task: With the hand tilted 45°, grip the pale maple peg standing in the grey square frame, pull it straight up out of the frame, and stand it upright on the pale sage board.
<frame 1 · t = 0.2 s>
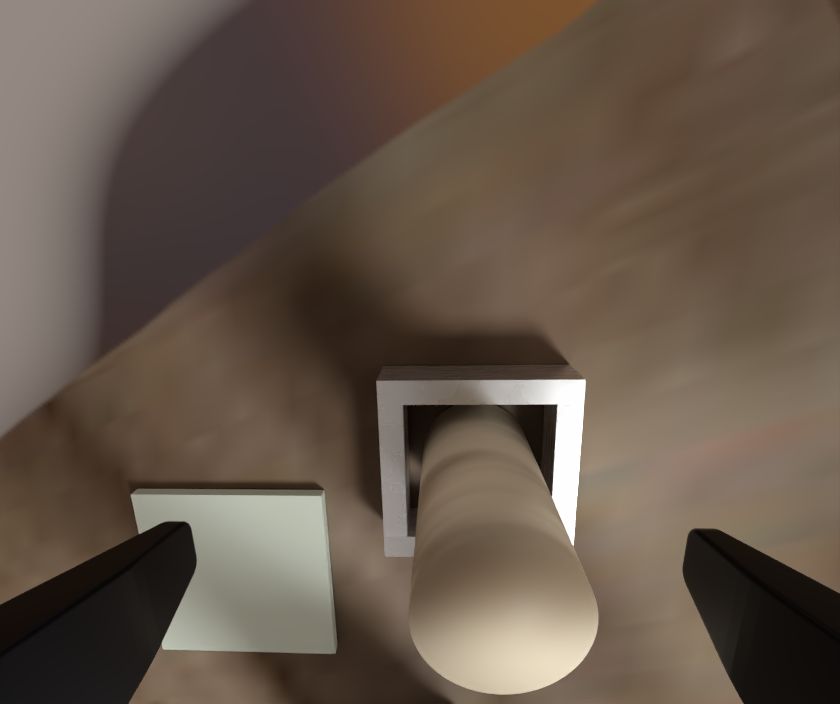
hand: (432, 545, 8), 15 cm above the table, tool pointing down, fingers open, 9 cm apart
grey square frame: (474, 450, 23), on the table
sage board: (241, 570, 26), on the table
maple peg: (484, 510, 18), in the grey square frame
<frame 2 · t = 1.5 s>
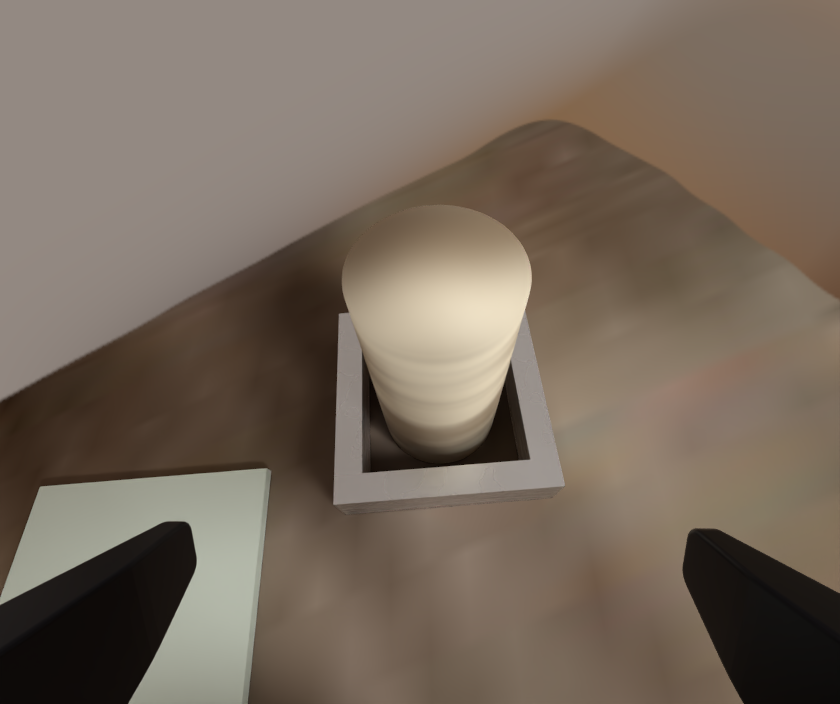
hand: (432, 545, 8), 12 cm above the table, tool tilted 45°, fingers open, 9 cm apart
grey square frame: (439, 409, 22), on the table
sage board: (131, 610, 19), on the table
maple peg: (437, 359, 18), in the grey square frame
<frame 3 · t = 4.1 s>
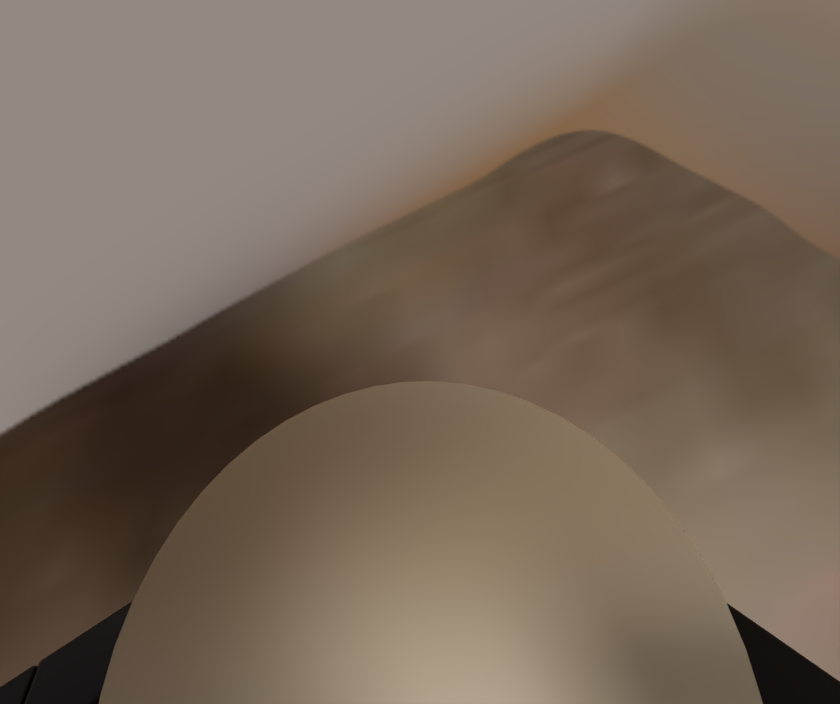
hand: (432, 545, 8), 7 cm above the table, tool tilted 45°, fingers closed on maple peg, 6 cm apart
maple peg: (433, 631, 8), in the grey square frame, touching gripper
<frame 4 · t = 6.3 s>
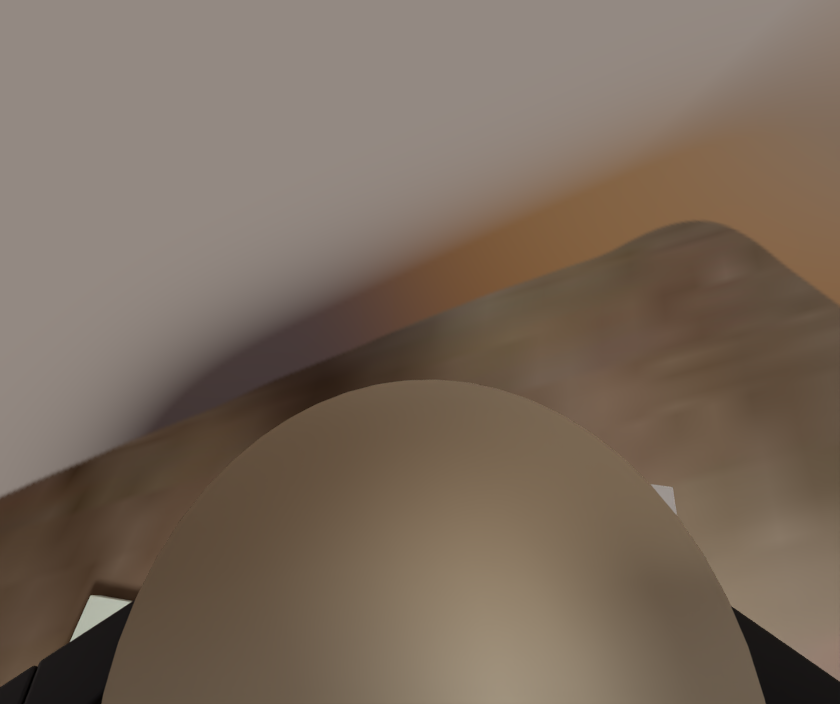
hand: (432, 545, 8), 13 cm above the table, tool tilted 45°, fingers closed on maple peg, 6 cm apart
grey square frame: (543, 599, 18), on the table
maple peg: (435, 630, 8), point 11 cm above the table, touching gripper
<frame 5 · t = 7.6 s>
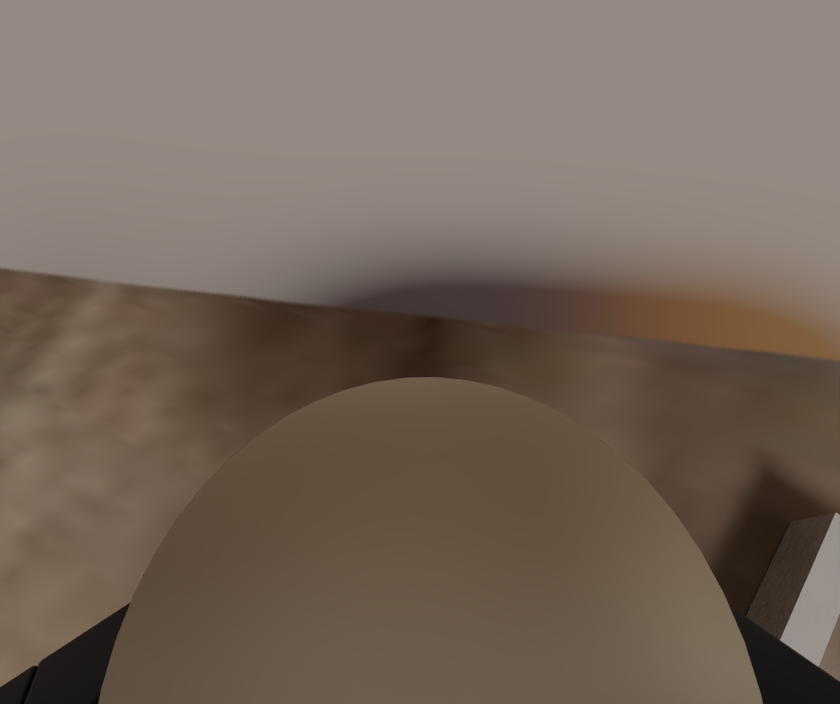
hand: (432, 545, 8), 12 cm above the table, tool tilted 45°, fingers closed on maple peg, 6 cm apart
maple peg: (433, 629, 8), point 11 cm above the table, touching gripper
when the fingers open (9 cm above the table, at t = 8.7 s): maple peg drops 1 cm, resting on sage board.
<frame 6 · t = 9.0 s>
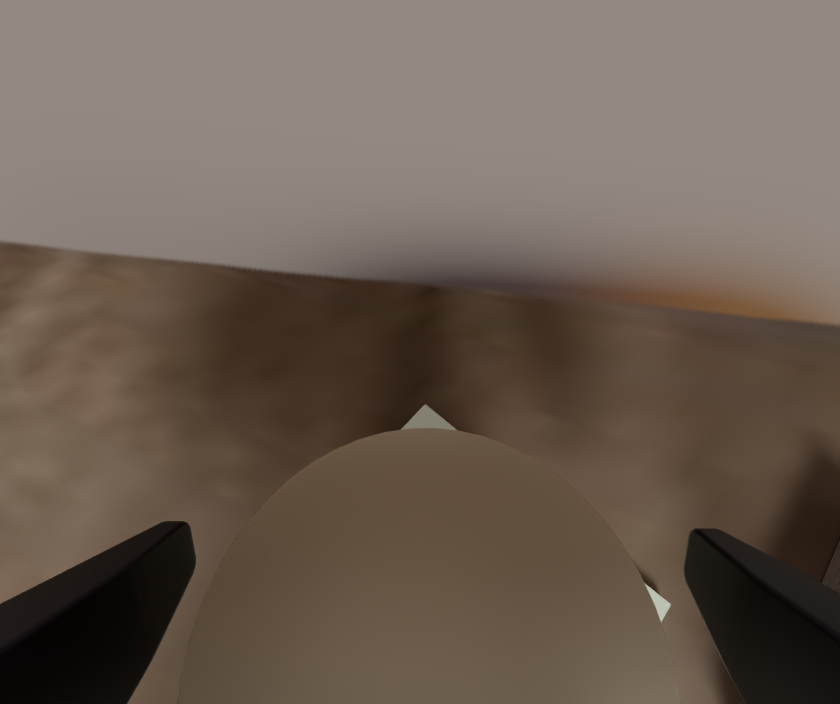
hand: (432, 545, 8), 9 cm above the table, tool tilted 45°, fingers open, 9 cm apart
sage board: (438, 617, 15), on the table
maple peg: (433, 630, 10), on the sage board, point 6 cm above the table
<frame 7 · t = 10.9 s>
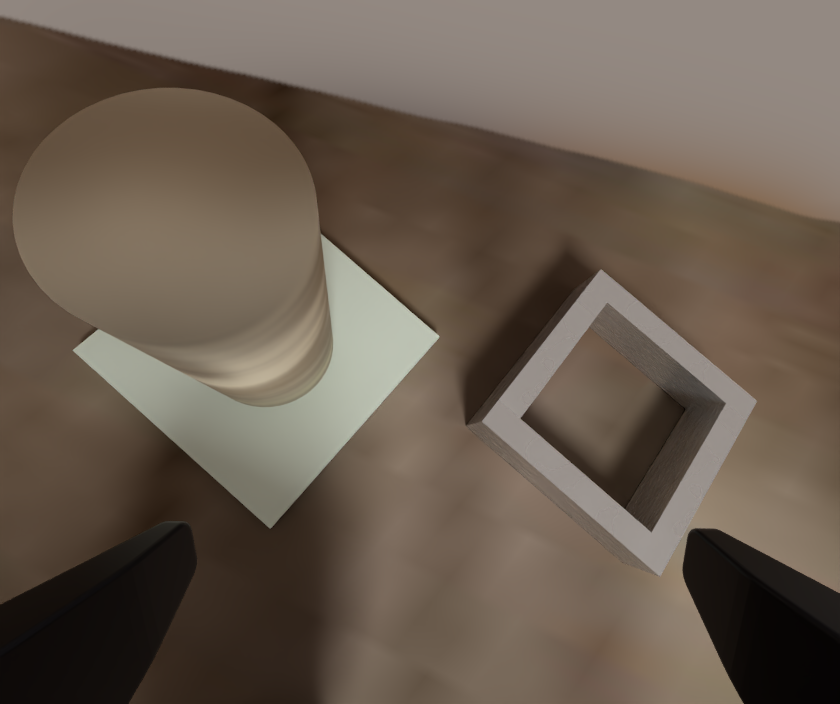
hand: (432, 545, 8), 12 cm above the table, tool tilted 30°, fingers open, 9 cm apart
grey square frame: (596, 415, 22), on the table
sage board: (271, 346, 20), on the table
maple peg: (239, 300, 14), on the sage board, point 6 cm above the table
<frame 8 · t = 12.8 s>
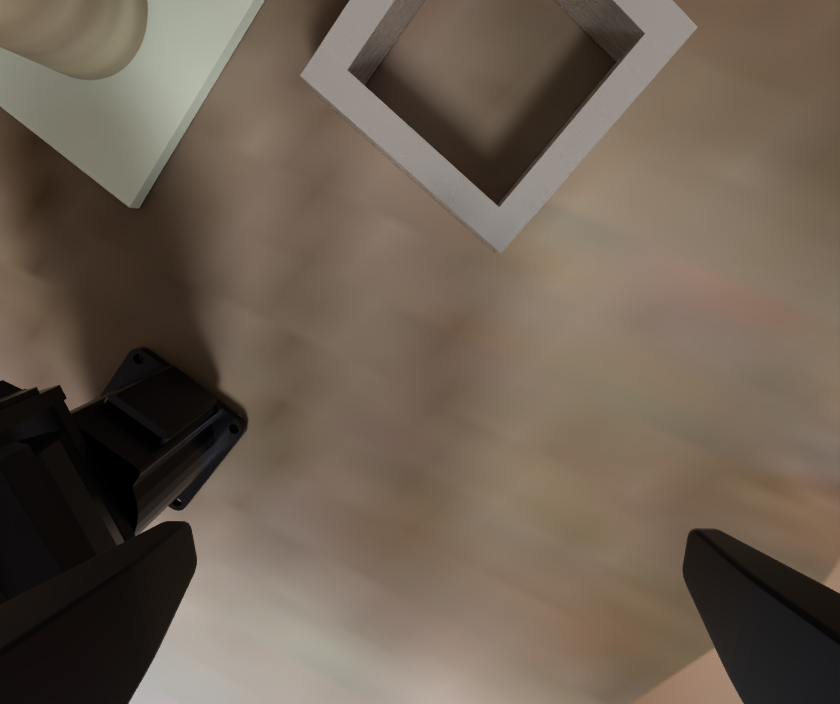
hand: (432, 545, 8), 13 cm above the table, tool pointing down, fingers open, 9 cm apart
grey square frame: (485, 77, 17), on the table
sage board: (88, 4, 17), on the table
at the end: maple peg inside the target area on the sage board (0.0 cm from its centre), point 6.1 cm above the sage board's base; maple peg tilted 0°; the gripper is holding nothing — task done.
